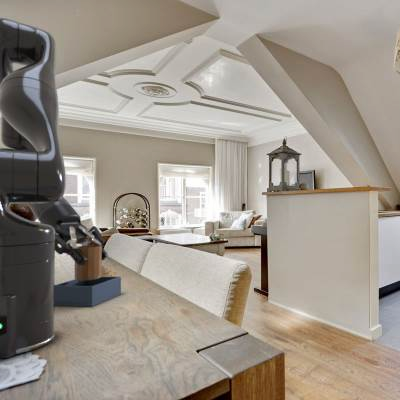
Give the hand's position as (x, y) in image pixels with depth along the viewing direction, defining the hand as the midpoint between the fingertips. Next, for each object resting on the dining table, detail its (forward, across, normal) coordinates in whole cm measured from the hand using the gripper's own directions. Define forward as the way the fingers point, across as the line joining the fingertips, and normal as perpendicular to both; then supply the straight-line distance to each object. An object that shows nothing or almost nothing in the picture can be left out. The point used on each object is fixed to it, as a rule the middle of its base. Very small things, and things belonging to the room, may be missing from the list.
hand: (94, 260), depth 78 cm
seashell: (-4, +19, +18) cm, 26 cm away
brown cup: (+2, 0, +4) cm, 5 cm away
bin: (+6, 0, +8) cm, 10 cm away
